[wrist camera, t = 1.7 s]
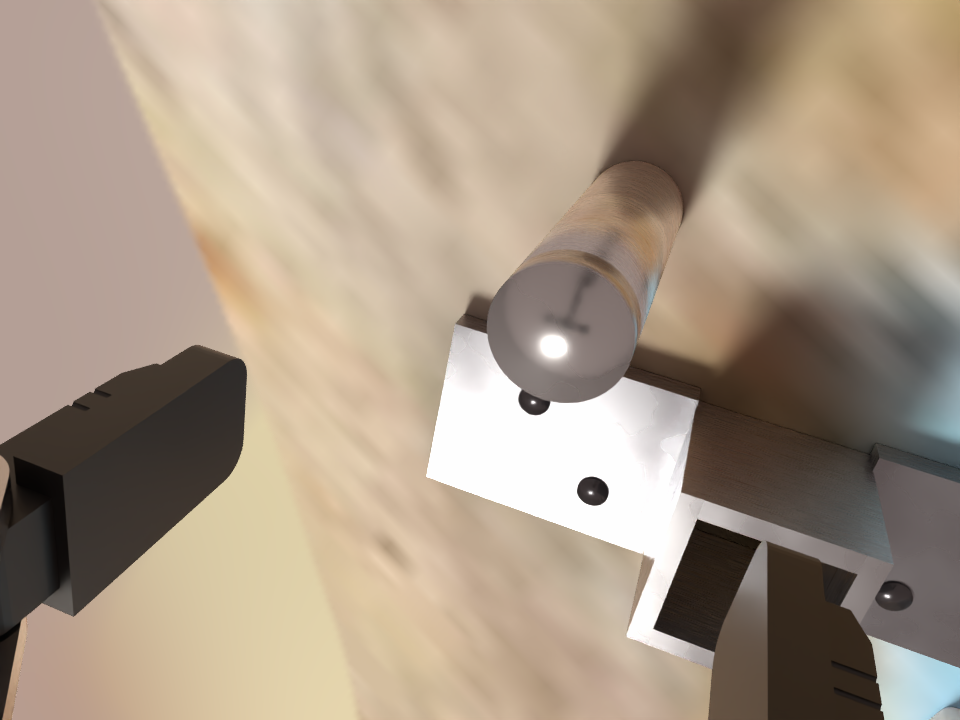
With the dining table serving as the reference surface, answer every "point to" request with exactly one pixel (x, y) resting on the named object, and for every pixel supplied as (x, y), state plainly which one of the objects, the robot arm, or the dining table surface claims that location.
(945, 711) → the holder
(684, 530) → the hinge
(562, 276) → the pin
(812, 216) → the dining table surface
